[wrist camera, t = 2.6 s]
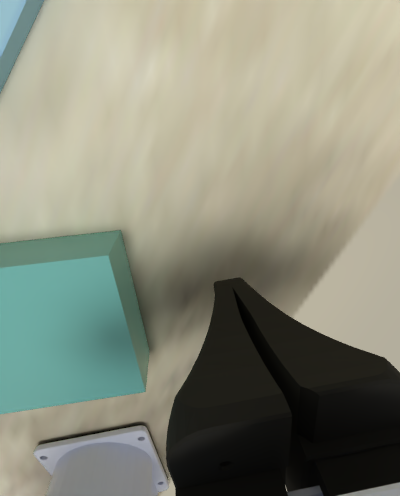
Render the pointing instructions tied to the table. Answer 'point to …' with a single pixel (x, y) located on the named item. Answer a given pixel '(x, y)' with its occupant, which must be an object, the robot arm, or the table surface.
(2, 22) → the light blue flat pad
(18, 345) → the teal slab tile
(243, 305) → the robot arm
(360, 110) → the table surface
